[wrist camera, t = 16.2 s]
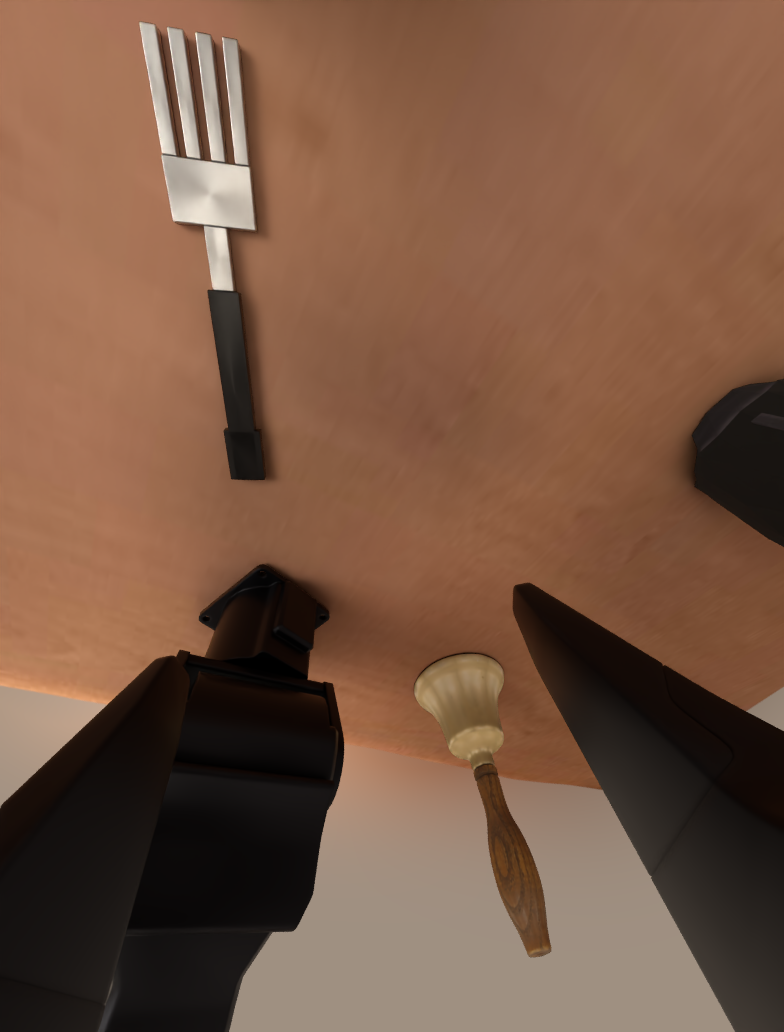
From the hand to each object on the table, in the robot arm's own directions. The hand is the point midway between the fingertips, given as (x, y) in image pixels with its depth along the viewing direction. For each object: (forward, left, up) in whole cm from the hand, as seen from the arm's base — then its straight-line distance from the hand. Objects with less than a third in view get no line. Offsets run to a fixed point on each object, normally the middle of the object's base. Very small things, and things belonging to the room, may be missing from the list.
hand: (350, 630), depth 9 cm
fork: (+1, +9, -13) cm, 16 cm away
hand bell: (-7, -23, -13) cm, 27 cm away
